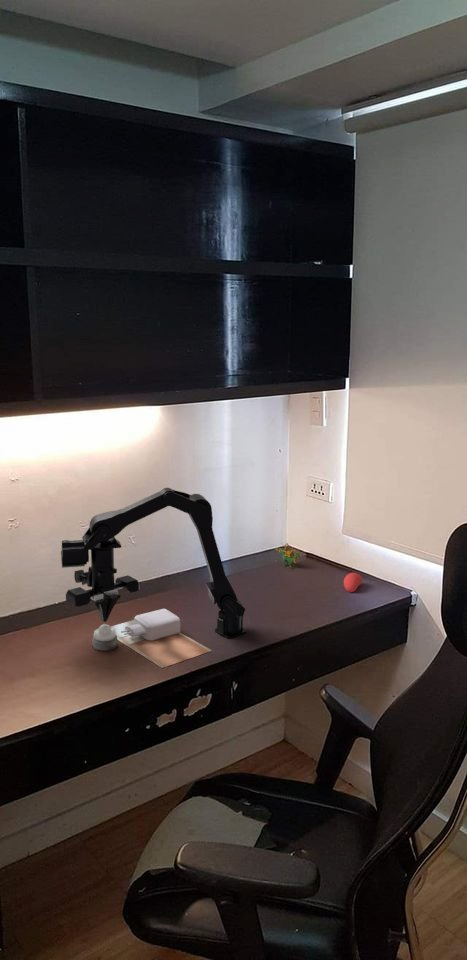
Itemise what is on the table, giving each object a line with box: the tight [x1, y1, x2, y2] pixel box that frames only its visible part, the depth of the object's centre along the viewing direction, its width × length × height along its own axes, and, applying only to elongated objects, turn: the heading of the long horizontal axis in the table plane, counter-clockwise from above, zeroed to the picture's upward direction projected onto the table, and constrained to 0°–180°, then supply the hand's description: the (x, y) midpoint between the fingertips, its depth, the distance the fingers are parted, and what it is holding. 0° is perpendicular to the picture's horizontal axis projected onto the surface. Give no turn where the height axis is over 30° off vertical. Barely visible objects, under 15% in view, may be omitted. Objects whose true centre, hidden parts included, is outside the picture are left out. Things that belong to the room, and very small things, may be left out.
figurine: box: [274, 543, 301, 570], centre depth 258 cm, size 3×12×8 cm, turn 42°
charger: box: [121, 608, 181, 641], centre depth 202 cm, size 5×9×15 cm
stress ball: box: [343, 572, 363, 593], centre depth 239 cm, size 5×9×6 cm, turn 142°
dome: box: [93, 623, 116, 641], centre depth 195 cm, size 6×6×3 cm
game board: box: [92, 619, 213, 669], centre depth 197 cm, size 23×29×2 cm
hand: (104, 621), depth 195 cm, fingers closed
